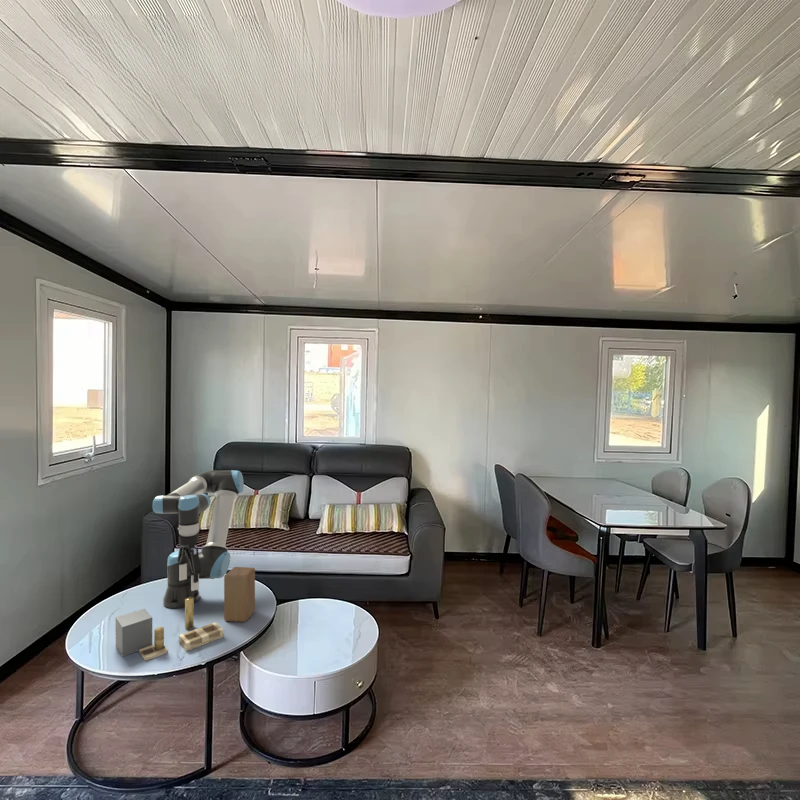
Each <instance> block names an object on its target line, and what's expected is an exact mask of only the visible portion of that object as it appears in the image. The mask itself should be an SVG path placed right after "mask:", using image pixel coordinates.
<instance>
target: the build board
mask: <svg viewBox="0 0 800 800" xmlns="http://www.w3.org/2000/svg"><path fill="white" fill-rule="evenodd" d="M222 638H224V628H222V627H221V625H219V624H218V623H217V622H216V621H214V622H212V623H209V624H207V625H202V626H200V627H198V628H196V629H195V628H194V629H191V630H189V631H187V632H184V633H181V634H179V635H178V644H179V645H181V647H182V648H183V649H184V650H185V652H189V651H191V650H194V649H197V648H198V647H199V648H200V647H201V645H202V646H204V645H207V644H209V643H211V642H215V641H216V640H219V639H222ZM193 648H194V649H193ZM188 650H189V651H188Z"/></svg>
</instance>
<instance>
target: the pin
mask: <svg viewBox="0 0 800 800" xmlns="http://www.w3.org/2000/svg"><path fill="white" fill-rule="evenodd" d="M194 604H195V603H194V598H193V597H188V598H186V599H185V607H184V629H185V630H193V628H194V625H195V624H194V623H195V622H194V620H195V618H194V615H195V614H194V613H195V612H194V609H195V608H194V607H195V606H194Z"/></svg>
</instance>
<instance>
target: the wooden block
mask: <svg viewBox="0 0 800 800" xmlns="http://www.w3.org/2000/svg"><path fill="white" fill-rule="evenodd" d="M223 581H224V583H223V589H224V591H223V593H224V594H223V596H224V598H223V599H224V600H223V604H224V605H223V606H224V607H223V609H224V611H223V612H224V613H223V615H224V616H223V618H224V621H226V622H237V623H238V622H240V623H246V622H247V621H248V620H249V619H250V618H251V616H252V615H254V612H255V611H256V569H255V567H248V566H247V567H246V566H244V567H242V566H235V567H233V568H231V570H229V571H227V572H226V574H225V575H224V576H223Z"/></svg>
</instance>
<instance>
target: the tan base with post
mask: <svg viewBox="0 0 800 800" xmlns="http://www.w3.org/2000/svg"><path fill="white" fill-rule="evenodd" d="M153 631H154V632H153V633H154V637H153V639H154V641H153V643H152V645H151V646H148V647H145V648H142V649H139V651H138V652H139V655H141V657H142V658H143V660H144V661H145V662H146V661H147V662H148V660H152V659H154V658H157V657H159V656H162V655H165V654H168V653H169V650H168V648H167V647H166V645H165V628H164V627H163V626H159V627H157V628H155V629H154V630H153Z"/></svg>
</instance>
